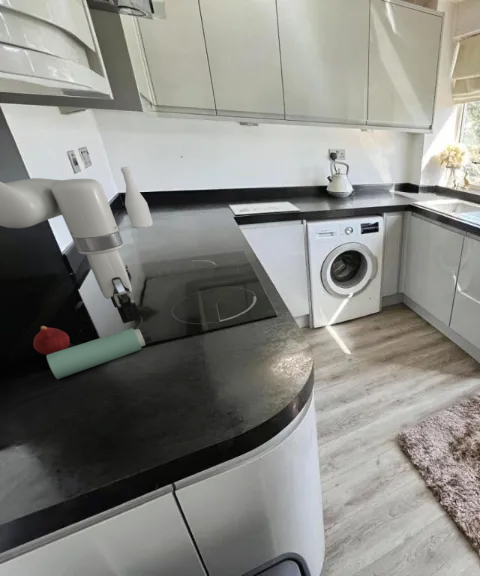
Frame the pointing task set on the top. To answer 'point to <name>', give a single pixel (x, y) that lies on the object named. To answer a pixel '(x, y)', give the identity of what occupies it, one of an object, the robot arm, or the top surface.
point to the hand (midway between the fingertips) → (127, 312)
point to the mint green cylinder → (96, 352)
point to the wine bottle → (135, 203)
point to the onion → (50, 340)
